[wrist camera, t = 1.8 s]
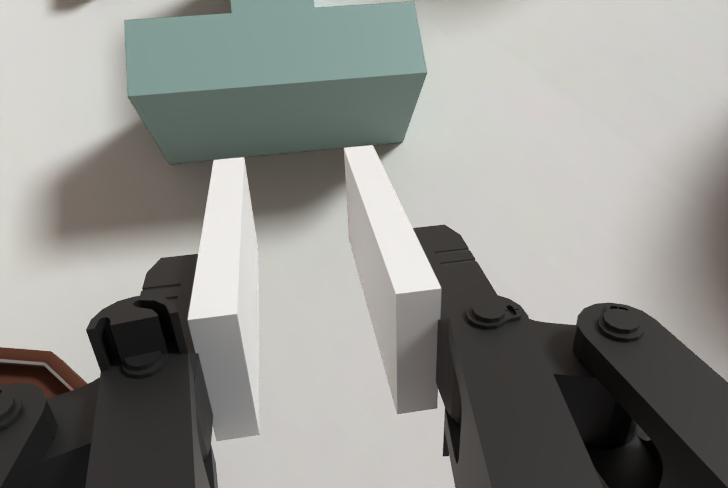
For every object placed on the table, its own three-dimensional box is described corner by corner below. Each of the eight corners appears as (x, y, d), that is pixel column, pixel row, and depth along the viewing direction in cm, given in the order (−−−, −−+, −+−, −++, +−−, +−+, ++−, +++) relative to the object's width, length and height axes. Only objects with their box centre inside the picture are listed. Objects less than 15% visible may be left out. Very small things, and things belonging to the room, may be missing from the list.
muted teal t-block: (402, 142, 36) (427, 72, 28) (169, 164, 34) (127, 96, 27) (372, -37, 39) (387, -144, 31) (157, -25, 37) (117, -134, 30)
